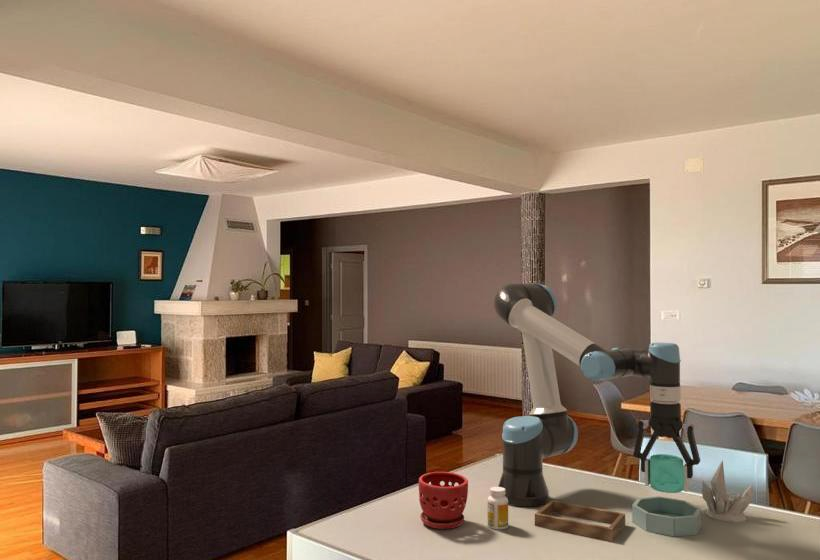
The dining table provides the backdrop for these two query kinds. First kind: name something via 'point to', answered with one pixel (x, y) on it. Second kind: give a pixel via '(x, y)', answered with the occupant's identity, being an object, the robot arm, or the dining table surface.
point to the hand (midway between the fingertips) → (666, 487)
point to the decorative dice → (666, 473)
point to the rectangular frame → (577, 527)
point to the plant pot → (442, 499)
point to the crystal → (725, 499)
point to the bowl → (666, 516)
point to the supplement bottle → (497, 508)
